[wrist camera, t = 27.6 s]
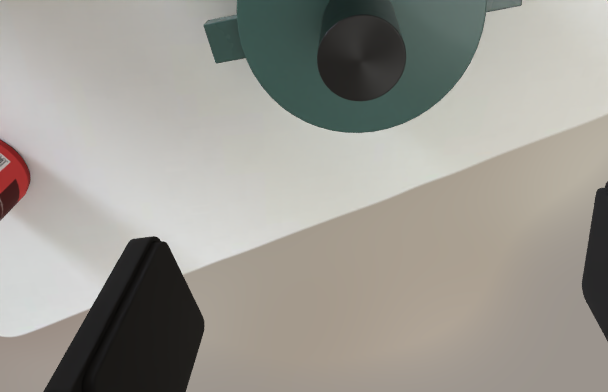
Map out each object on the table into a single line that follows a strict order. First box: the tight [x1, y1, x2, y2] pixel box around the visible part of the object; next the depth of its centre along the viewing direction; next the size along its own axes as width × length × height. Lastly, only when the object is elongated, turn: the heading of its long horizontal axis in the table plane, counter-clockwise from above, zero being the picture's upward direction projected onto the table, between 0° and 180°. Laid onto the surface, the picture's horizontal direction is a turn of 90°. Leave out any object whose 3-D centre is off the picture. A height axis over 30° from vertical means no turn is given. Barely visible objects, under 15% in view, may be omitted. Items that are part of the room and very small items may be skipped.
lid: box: [237, 0, 487, 133], centre depth 24 cm, size 14×14×7 cm
